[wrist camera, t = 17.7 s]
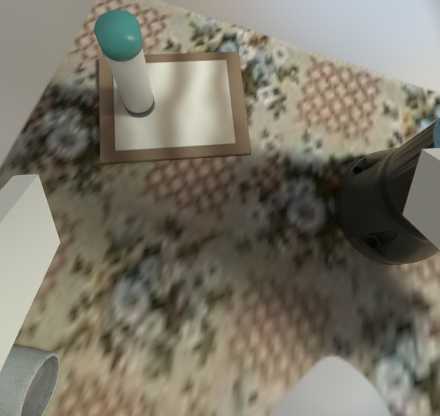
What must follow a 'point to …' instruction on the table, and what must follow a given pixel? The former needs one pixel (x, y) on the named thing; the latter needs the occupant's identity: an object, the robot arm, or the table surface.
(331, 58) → the table surface
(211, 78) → the writing pad
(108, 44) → the marker
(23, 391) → the ceramic mug
